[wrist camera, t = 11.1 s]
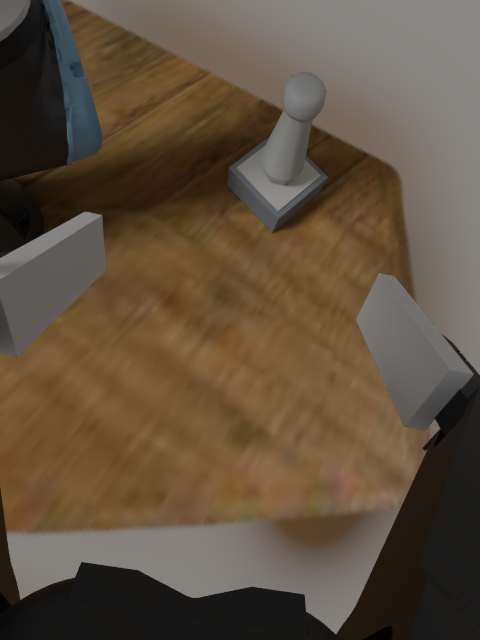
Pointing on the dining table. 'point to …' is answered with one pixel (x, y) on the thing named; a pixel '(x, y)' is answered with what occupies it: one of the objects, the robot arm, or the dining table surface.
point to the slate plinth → (272, 188)
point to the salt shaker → (293, 128)
